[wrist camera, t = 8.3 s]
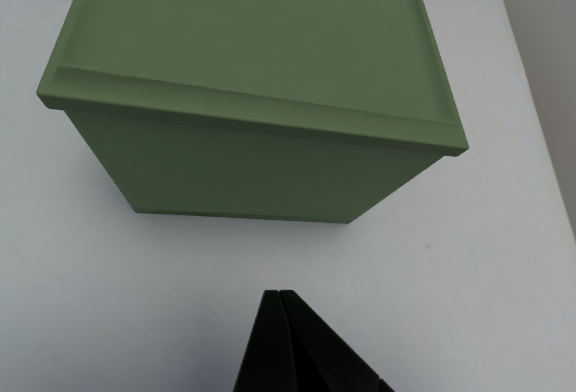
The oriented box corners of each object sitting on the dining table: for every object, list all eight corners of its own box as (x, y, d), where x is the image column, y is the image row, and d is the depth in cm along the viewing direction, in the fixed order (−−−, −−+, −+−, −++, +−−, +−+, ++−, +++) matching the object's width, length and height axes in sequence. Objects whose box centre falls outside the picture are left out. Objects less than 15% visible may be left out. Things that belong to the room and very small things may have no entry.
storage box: (352, 227, 18) (470, 148, 10) (130, 216, 15) (33, 93, 7) (330, 36, 24) (390, -106, 16) (172, 4, 21) (147, -188, 13)
